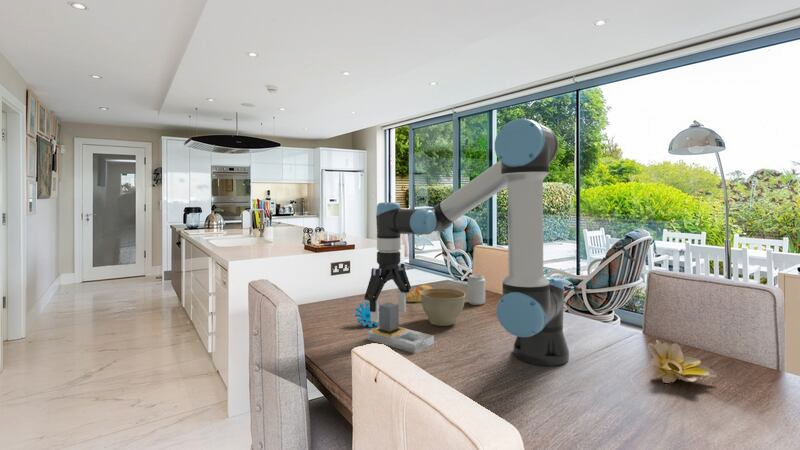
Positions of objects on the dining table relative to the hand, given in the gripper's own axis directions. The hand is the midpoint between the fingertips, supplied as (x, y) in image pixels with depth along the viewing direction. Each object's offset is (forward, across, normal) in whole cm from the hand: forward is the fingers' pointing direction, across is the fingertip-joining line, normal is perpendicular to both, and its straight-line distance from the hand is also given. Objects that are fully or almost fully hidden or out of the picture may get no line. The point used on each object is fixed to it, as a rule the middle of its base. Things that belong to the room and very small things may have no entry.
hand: (388, 316), depth 132 cm
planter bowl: (+8, -25, +4) cm, 26 cm away
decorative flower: (+8, -21, +76) cm, 79 cm away
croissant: (+8, -48, -21) cm, 53 cm away
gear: (+8, -7, -14) cm, 17 cm away
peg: (+7, 0, 0) cm, 7 cm away
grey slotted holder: (+7, 0, +4) cm, 8 cm away
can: (+7, -56, +2) cm, 57 cm away
